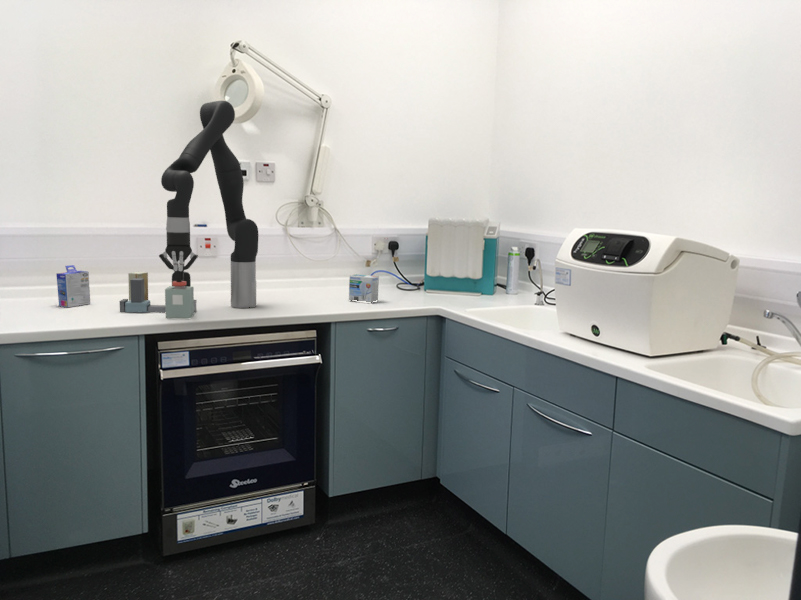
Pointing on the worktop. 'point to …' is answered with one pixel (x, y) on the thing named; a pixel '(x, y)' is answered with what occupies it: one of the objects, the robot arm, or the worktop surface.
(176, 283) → the red button
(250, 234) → the robot arm
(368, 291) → the light bulb box
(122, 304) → the rail
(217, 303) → the worktop surface
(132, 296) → the carriage
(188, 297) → the button housing
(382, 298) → the worktop surface
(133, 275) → the skincare box
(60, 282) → the ink cartridge box
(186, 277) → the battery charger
